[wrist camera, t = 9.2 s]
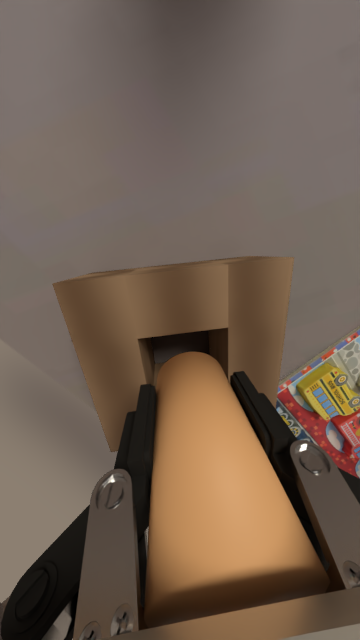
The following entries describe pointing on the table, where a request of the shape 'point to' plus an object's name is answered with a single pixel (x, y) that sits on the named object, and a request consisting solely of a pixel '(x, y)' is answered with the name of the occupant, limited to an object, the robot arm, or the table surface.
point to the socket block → (175, 324)
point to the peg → (217, 506)
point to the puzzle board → (327, 402)
